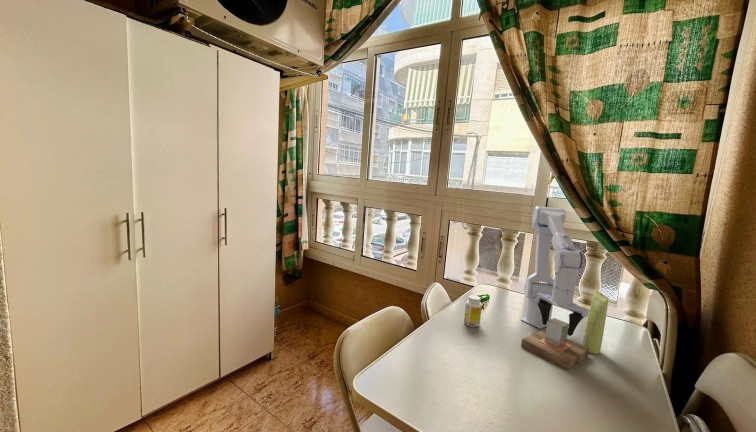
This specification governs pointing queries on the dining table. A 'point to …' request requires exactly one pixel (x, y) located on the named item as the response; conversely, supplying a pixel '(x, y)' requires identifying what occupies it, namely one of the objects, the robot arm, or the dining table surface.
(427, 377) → the dining table surface
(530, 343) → the board
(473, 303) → the supplement bottle
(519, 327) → the dining table surface
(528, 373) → the dining table surface
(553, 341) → the steel column
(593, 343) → the tube
